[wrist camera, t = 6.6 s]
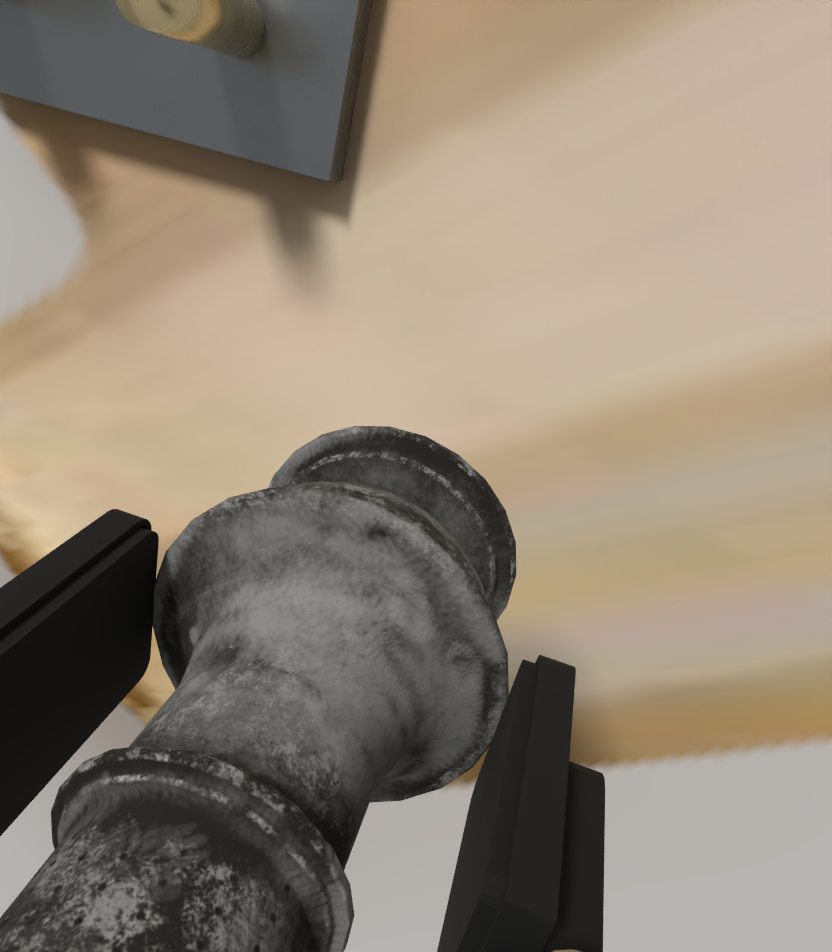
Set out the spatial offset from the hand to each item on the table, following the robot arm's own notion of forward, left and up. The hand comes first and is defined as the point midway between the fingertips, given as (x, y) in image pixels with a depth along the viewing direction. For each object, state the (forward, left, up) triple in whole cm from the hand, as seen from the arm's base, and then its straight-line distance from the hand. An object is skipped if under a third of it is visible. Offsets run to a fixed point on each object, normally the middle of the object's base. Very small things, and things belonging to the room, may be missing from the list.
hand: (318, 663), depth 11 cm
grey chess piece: (0, 0, -4) cm, 4 cm away
